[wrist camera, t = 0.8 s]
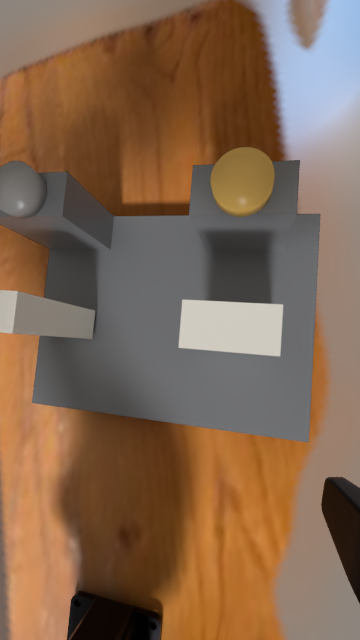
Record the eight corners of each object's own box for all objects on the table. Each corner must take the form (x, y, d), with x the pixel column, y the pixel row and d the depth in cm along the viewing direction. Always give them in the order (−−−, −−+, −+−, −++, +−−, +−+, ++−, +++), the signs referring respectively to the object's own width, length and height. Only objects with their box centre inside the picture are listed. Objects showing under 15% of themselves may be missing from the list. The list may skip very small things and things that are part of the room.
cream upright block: (92, 339, 22) (12, 333, 15) (42, 334, 23) (-56, 327, 16) (95, 310, 22) (17, 291, 15) (45, 307, 23) (-51, 287, 16)
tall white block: (270, 354, 20) (280, 356, 12) (205, 348, 20) (178, 347, 13) (272, 321, 20) (283, 304, 12) (208, 317, 21) (182, 299, 13)
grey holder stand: (304, 435, 20) (338, 493, 12) (44, 399, 25) (-60, 424, 17) (316, 220, 22) (354, 140, 13) (65, 222, 26) (-24, 163, 18)
